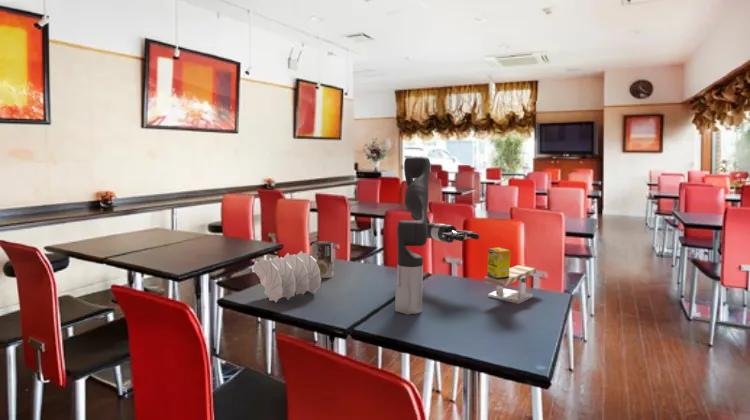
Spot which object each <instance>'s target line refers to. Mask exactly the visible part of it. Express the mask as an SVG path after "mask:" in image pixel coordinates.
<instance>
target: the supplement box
mask: <svg viewBox="0 0 750 420" xmlns="http://www.w3.org/2000/svg"><path fill="white" fill-rule="evenodd" d="M487 251H488V252H487V276H490V277H492V278H495V279H497V280H499V279H505V278H509V269H510V268H511V267H510V265H511V264H510V263H511V250H510V249H506V248H503V247H493V248H492V247H491V248H488V250H487ZM487 276H486V277H487Z"/></svg>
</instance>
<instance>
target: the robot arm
mask: <svg viewBox="0 0 750 420" xmlns="http://www.w3.org/2000/svg"><path fill="white" fill-rule="evenodd" d="M403 163H404V164H403V166H404V167H403V170H404V177H405V178H404V179H405V183H406V187H407V188H406V189H405V193H404V206H405V207H406V209H407V211H409V213H410V216H411V219H409V220H407V219H405V220H403V219H401V220H399V221H398V223H397V227H396V228H397V229H396V240H397V241H396V243H397V244H396V245H397V263H396V264H397V266H396V267H397V272H396V273H397V274H396V277H397V278H396V279H397V282H396V283H397V284H396V285H395V288H394V289H395V291H394V292H395V294H394V295H395V296H394V297H395V300H394V301H395V302H394V304H395V305H394V307H395V308H394V309H395V312H397V313H401V314H405V315H406V316H407V315H417V314H420V313H422V312H423V282H424V281H423V279H424V278H423V276H424V275H423V274H424V272H423V271H424V269H423V268H424V259H423V256H422V255H420V254H418V253H415V252H412V251H411V250H410V249H409V248H407V247H423V246H425V245H426V243H427V241H428V239H432V240H436V241H438V242H439V241H440V242H444V243H448V244H449V243H453V242H456V241H459V242H464V241H465V240H467V239H470V240H471V239H472V240H480V234H479V233H476V232H475V231H469V230H466V229H465V230H461V229H457V228H456V227H455V226H454V225H452V224H445V223H435V222H431V221H429V218H428V208H429V207H428V205H429V183H430V174H431V161H430V159H429V158H428V157H427V156H407V157H406V158H405V159H404V162H403Z"/></svg>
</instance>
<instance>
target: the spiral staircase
mask: <svg viewBox="0 0 750 420" xmlns="http://www.w3.org/2000/svg"><path fill="white" fill-rule="evenodd" d="M316 262H317V261H316V260H315V259H314V258H313V257H312V255H311V254H310V253H308V252H307V253H306V252H303V250H300V251H299V252H298V253H297V254H294V253H293V254H290V253H289V252H287V253H286V254H285V255H284V256H283V257H282V256H280V257H279V255H276V256H275V257H273V258H271V257H269V258H268V259H265V258H264V257H261V258H260V259H259V260H258V261H257V260H255V261H254V264H253V267H252V271H254V272H253V273H255V274H256V275H257V277H258V278H259V281H260V284H261V285H262V286H263V287H264V295H266V296H267V297H268V300H269V301H270V302H271V301H272V302H273V301H274V303H277V302H278V301H279V300H280V299H282V298H286V299H287V300H290V299H291V298H292V297H295V294H296V295H300V294H301V295H302V296H304V294H305V293H306V292H313V293H315V292H316V291H317V290H318V289H320V288H321V283H322V278H320V270H319V267H318V264H317V263H316Z"/></svg>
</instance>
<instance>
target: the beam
mask: <svg viewBox="0 0 750 420" xmlns="http://www.w3.org/2000/svg"><path fill="white" fill-rule="evenodd" d="M536 273H537V268H536V267H532V266H526V265H525V266H524V265H515V266H512V267H510V269H509V278H505V279H499V280H497V279H495V278H492V277H490V276H484V280H483V283H484V284H489V285H495V286H496V285H498V286H503V288H505V287H507V286H508V285H511V284H513V283H515V282H519V278H520V277H523V276H525V277H526V278H527V277H529V276H530V277H531V275H532V276H533V275H534V274H536Z"/></svg>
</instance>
